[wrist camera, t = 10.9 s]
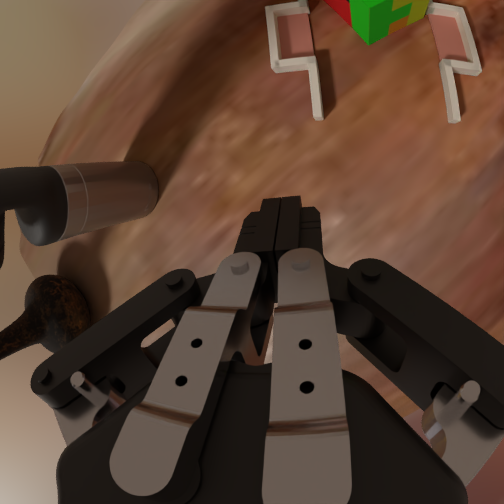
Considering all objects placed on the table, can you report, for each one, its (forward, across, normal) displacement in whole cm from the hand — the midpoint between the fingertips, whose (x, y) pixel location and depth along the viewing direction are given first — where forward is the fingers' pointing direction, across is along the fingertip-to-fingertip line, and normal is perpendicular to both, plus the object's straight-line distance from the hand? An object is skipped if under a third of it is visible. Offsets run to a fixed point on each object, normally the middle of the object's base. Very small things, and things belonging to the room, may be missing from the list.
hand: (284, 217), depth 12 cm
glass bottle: (+22, +52, +30) cm, 63 cm away
